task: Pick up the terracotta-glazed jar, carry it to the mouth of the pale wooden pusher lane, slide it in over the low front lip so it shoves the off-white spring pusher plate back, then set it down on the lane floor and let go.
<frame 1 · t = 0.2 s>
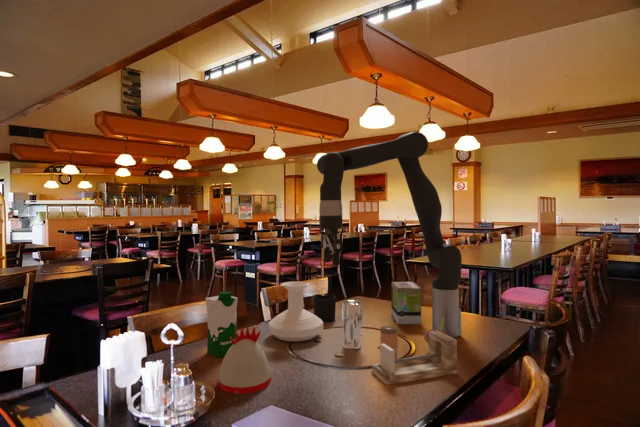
hand: (331, 263, 134), 29 cm above the table, tool pointing down, fingers open, 8 cm apart
beer glass: (352, 347, 137), on the table
kitchen timer: (245, 382, 110), on the table
jar: (389, 360, 125), on the table
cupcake: (437, 352, 132), on the table
pusher: (415, 355, 115), point 5 cm above the table, slide at 0.0 cm
tea box: (405, 320, 170), on the table
lane: (414, 372, 115), on the table
milk carton: (222, 353, 133), on the table
pen holder: (324, 320, 170), on the table
white vase: (296, 337, 149), on the table
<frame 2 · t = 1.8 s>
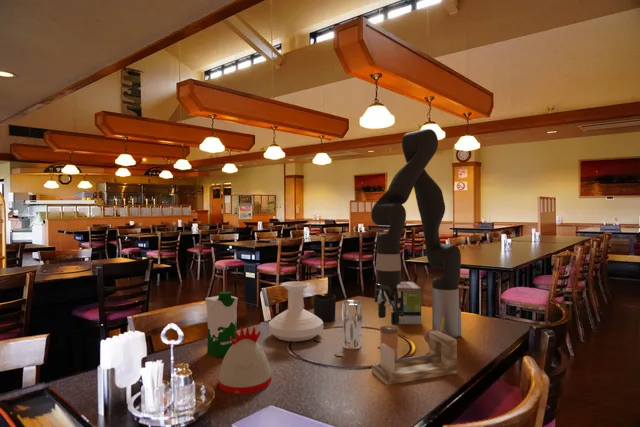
hand: (388, 320, 125), 12 cm above the table, tool pointing down, fingers open, 8 cm apart
nothing on the table moved.
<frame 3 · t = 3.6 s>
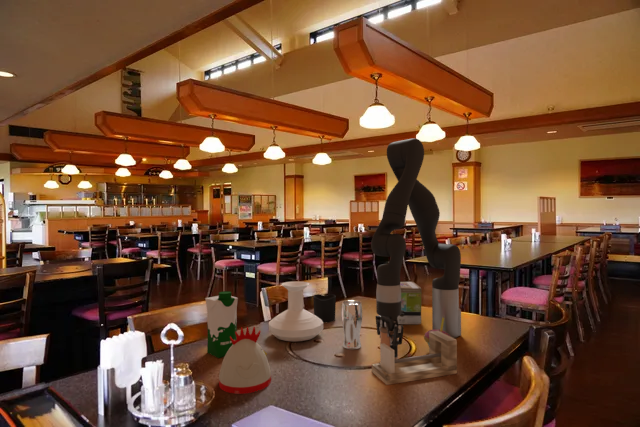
hand: (389, 353, 125), 2 cm above the table, tool pointing down, fingers closed on jar, 5 cm apart
jar: (389, 359, 125), on the table, touching gripper
everything else where it was.
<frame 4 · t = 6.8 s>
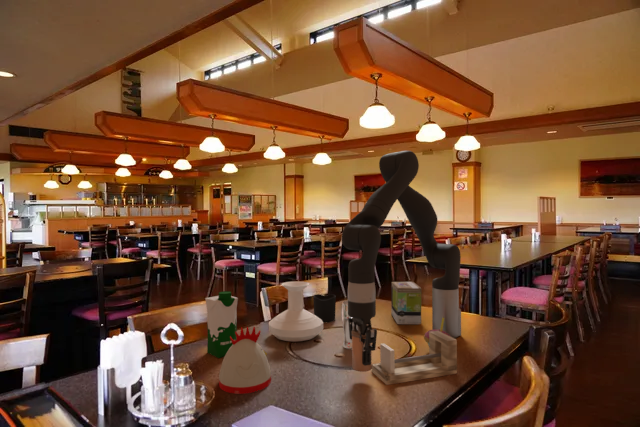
hand: (362, 360, 110), 5 cm above the table, tool pointing down, fingers closed on jar, 5 cm apart
jar: (361, 367, 110), point 4 cm above the table, touching gripper
everything else where it was.
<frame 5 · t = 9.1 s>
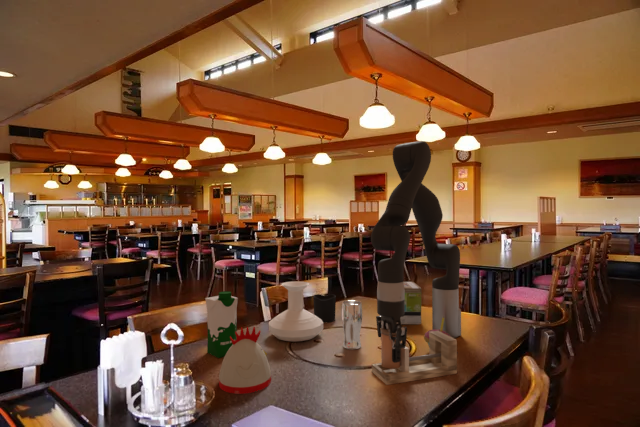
hand: (391, 357, 113), 5 cm above the table, tool pointing down, fingers closed on jar, 5 cm apart
jar: (390, 364, 113), point 3 cm above the table, touching gripper, pusher
pusher: (428, 353, 117), point 5 cm above the table, slide at 4.4 cm, touching jar
everything else where it was.
when the fingers open (3 cm above the table, at t = 10.2 s): jar stays where it is, resting on lane, pusher.
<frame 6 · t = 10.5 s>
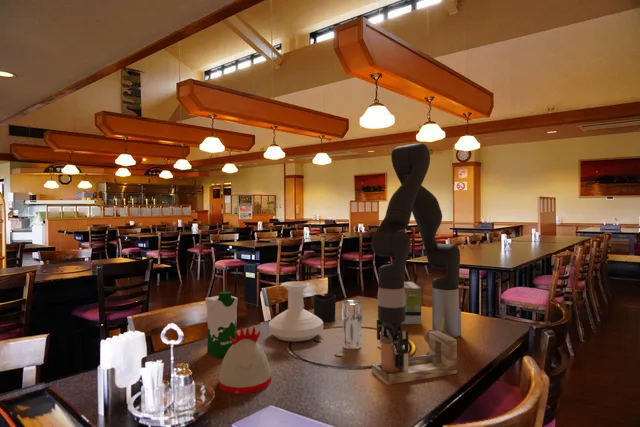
hand: (391, 362, 113), 4 cm above the table, tool pointing down, fingers open, 7 cm apart
jar: (390, 372, 113), point 1 cm above the table, touching lane, pusher
everything else where it was.
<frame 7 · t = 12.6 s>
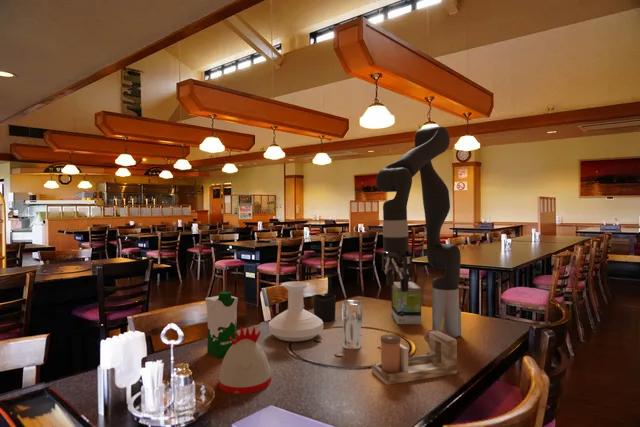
hand: (397, 288, 123), 22 cm above the table, tool pointing down, fingers open, 8 cm apart
nothing on the table moved.
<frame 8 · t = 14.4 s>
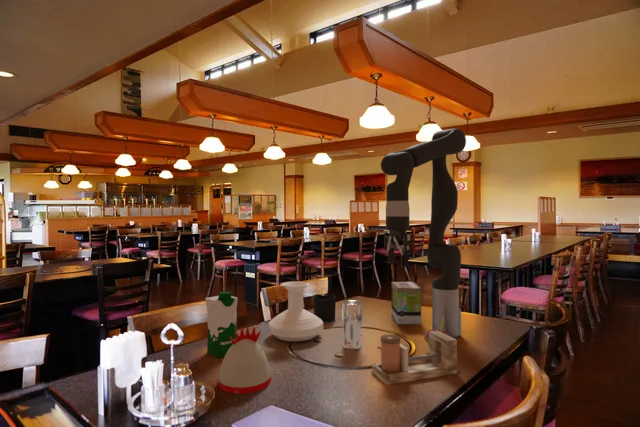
hand: (397, 265, 131), 28 cm above the table, tool pointing down, fingers open, 8 cm apart
nothing on the table moved.
at the end: jar 0.5 cm from the target spot on the lane, point 1.0 cm above the lane's base; pusher slide at 4.2 cm; jar tilted 0° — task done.
